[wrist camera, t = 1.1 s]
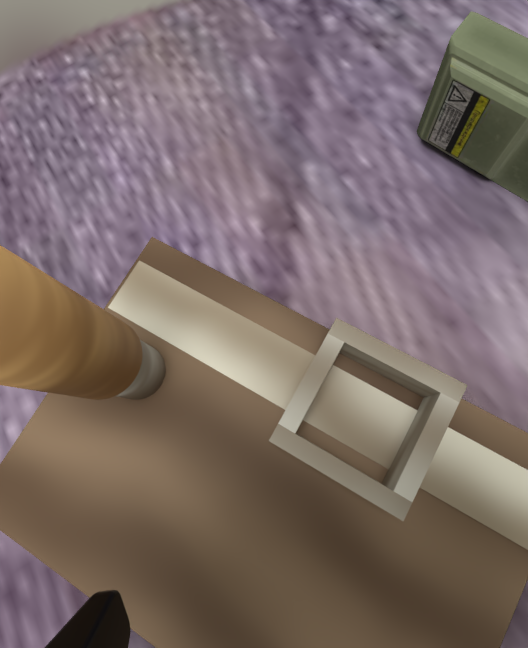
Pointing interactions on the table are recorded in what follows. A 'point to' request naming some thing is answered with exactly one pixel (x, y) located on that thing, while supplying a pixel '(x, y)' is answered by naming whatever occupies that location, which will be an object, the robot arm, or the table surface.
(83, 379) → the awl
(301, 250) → the table surface
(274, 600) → the board
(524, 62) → the handheld radio
